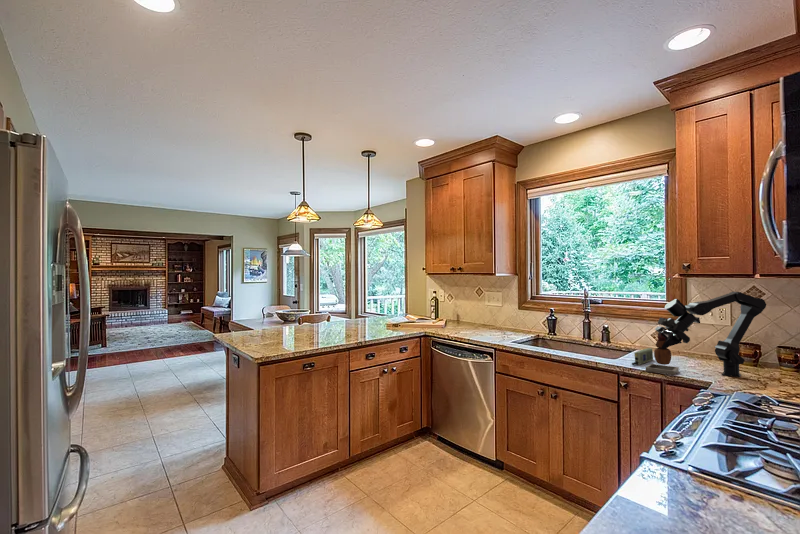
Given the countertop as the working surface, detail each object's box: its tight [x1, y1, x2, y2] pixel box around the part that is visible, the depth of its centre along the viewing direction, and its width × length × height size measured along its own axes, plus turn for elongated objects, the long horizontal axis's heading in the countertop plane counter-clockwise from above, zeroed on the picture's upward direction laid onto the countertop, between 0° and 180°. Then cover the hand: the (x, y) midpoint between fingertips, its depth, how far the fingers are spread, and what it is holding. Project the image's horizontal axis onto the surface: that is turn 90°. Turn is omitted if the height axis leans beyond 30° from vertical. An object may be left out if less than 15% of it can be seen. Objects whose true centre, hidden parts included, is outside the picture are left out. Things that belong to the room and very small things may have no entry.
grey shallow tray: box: [645, 363, 680, 376], centre depth 190 cm, size 11×12×2 cm
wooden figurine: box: [653, 332, 672, 366], centre depth 184 cm, size 7×6×15 cm
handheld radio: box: [631, 347, 654, 366], centre depth 210 cm, size 7×3×25 cm
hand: (659, 346), depth 184 cm, fingers closed on wooden figurine, 5 cm apart
